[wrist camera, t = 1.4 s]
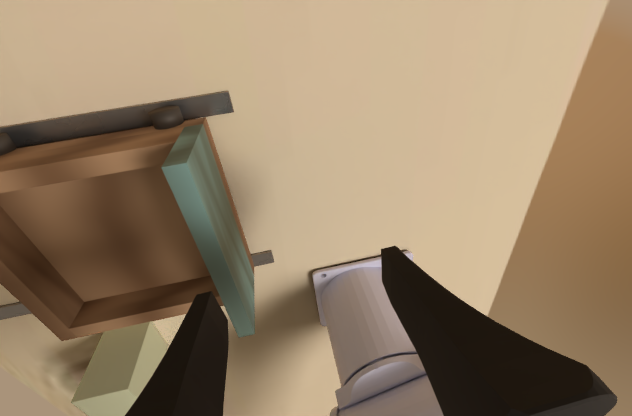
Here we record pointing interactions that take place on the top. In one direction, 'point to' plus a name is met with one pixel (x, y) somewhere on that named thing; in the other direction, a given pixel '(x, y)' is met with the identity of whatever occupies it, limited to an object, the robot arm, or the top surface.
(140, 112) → the rails
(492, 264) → the top surface
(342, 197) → the top surface
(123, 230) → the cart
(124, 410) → the sage block
